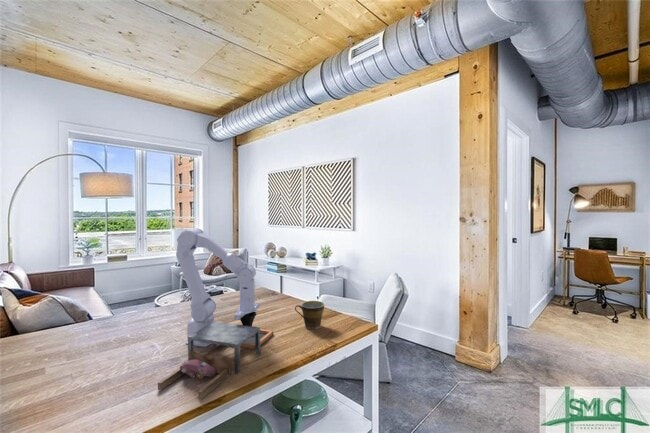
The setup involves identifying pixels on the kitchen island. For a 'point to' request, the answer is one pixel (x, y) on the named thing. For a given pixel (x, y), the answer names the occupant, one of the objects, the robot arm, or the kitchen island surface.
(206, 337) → the small grey table
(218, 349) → the mallet
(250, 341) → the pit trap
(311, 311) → the ceramic cup
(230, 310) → the kitchen island surface
